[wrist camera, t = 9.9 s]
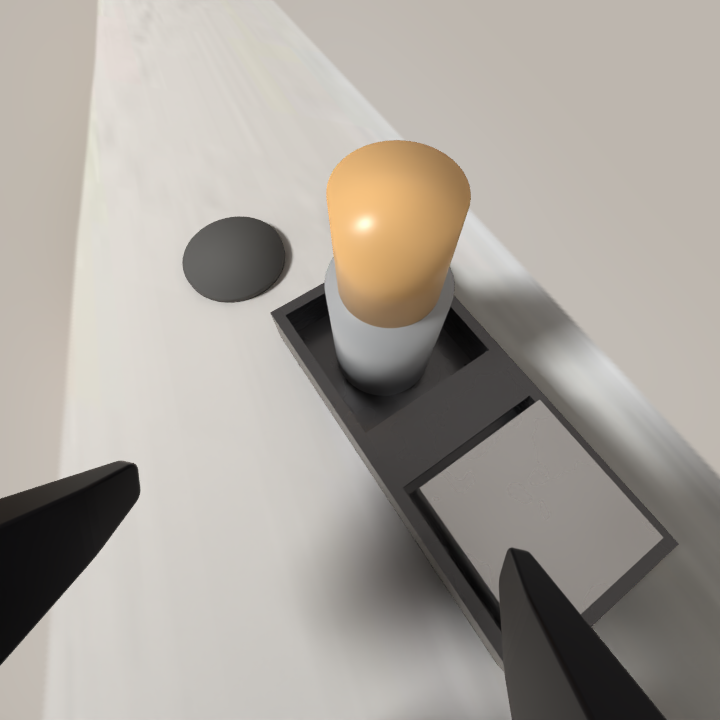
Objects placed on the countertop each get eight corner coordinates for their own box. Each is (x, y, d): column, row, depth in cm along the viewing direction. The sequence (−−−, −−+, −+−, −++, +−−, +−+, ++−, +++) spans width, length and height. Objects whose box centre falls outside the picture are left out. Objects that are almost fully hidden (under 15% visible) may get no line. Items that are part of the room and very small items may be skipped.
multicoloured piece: (347, 405, 18) (328, 283, 9) (328, 322, 20) (294, 145, 10) (440, 383, 18) (517, 243, 9) (413, 303, 20) (454, 116, 11)
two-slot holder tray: (496, 664, 14) (535, 705, 11) (281, 337, 20) (265, 301, 17) (633, 540, 16) (701, 545, 13) (398, 269, 21) (404, 224, 18)
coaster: (211, 320, 20) (208, 316, 20) (169, 249, 22) (166, 244, 22) (303, 270, 21) (301, 266, 21) (256, 207, 23) (254, 202, 23)
